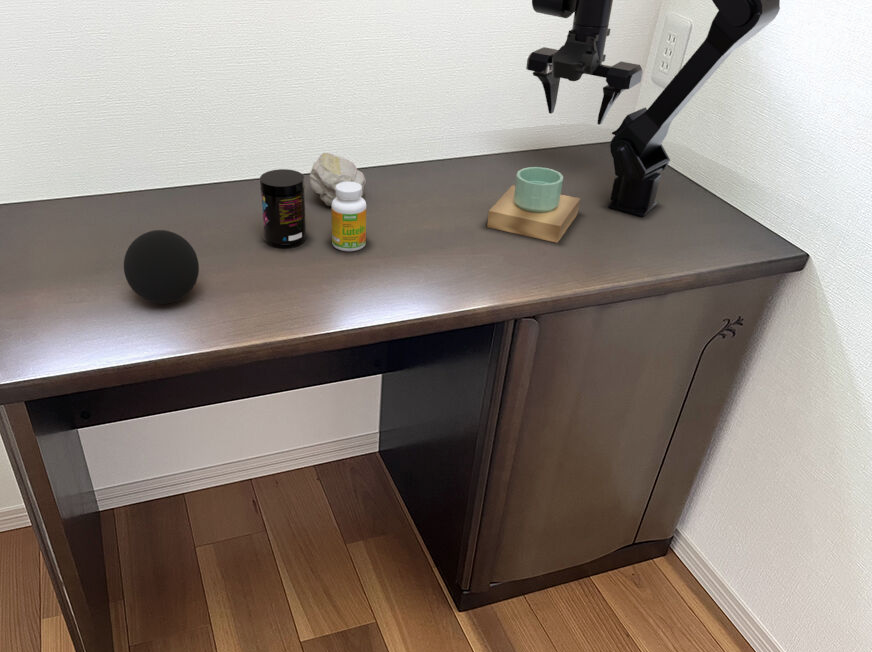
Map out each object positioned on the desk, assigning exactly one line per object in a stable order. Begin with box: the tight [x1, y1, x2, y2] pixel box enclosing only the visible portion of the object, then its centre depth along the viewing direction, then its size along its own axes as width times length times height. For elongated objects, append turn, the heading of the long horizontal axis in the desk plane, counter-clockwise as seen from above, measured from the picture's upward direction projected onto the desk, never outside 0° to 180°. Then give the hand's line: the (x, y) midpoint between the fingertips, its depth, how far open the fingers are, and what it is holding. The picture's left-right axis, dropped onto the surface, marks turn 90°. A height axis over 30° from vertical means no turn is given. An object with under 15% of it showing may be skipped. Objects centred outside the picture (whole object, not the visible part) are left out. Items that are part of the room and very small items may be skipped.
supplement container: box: [259, 168, 307, 249], centre depth 124 cm, size 7×7×10 cm
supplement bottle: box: [330, 182, 367, 252], centre depth 124 cm, size 5×5×10 cm
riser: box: [486, 184, 581, 244], centre depth 133 cm, size 12×12×3 cm
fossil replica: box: [309, 152, 367, 207], centre depth 137 cm, size 12×8×10 cm
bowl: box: [513, 166, 564, 213], centre depth 131 cm, size 7×7×5 cm
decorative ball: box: [123, 229, 200, 305], centre depth 110 cm, size 10×10×10 cm
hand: (574, 118), depth 140 cm, fingers open, 9 cm apart
